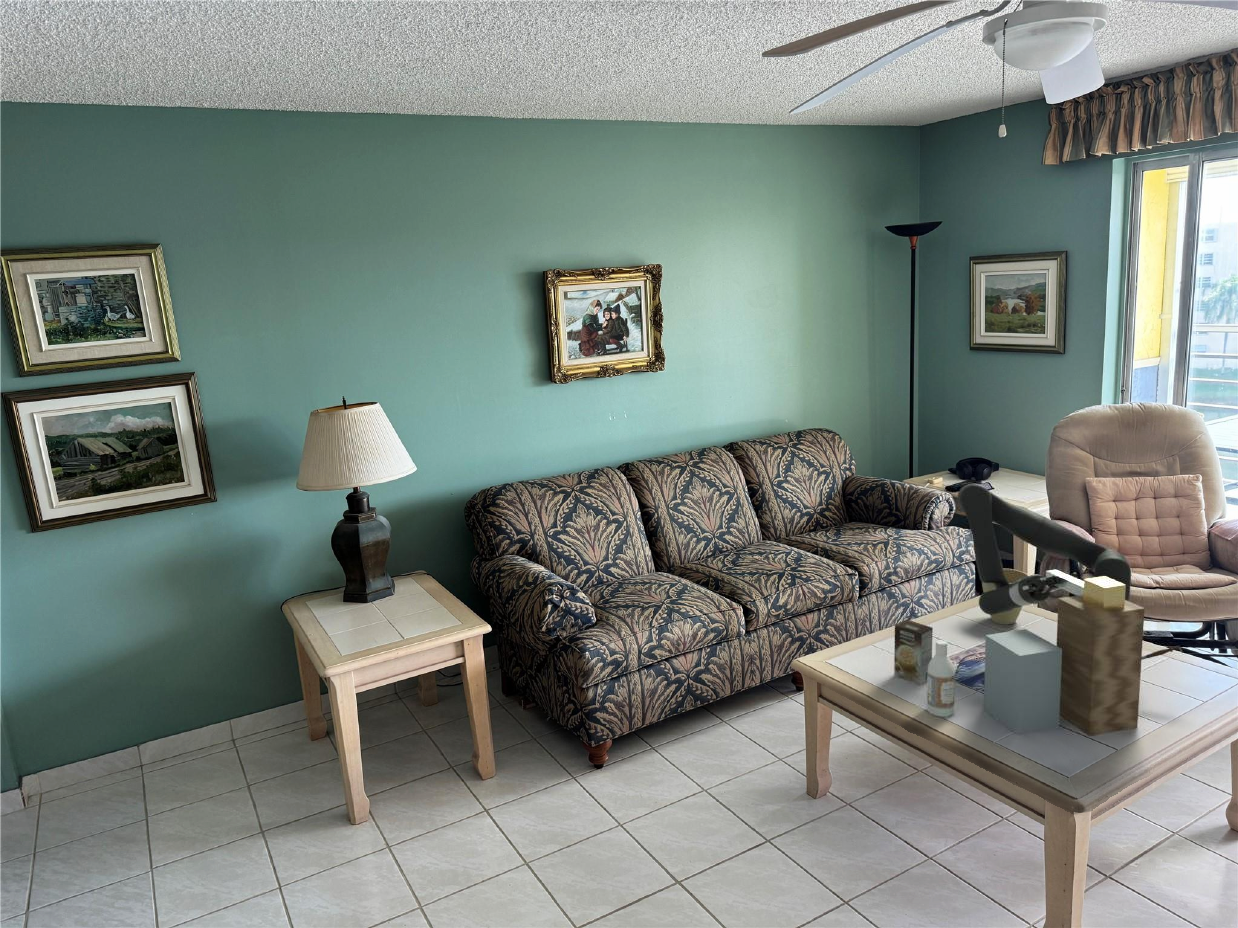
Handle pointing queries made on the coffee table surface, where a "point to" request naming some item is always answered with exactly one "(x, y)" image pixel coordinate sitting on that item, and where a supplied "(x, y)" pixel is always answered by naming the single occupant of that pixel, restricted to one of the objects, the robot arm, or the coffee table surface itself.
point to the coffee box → (912, 651)
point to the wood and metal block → (1093, 590)
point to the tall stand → (1099, 665)
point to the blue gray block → (1022, 681)
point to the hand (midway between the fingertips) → (1066, 577)
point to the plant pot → (1013, 614)
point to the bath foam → (941, 682)
